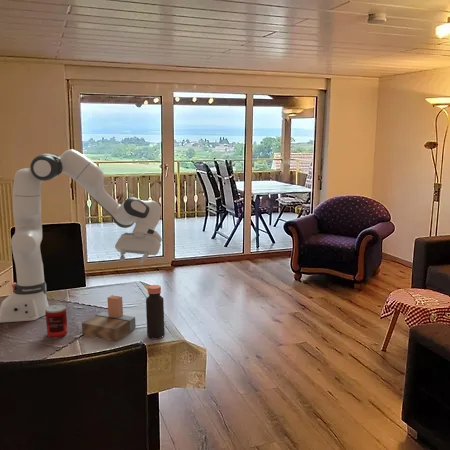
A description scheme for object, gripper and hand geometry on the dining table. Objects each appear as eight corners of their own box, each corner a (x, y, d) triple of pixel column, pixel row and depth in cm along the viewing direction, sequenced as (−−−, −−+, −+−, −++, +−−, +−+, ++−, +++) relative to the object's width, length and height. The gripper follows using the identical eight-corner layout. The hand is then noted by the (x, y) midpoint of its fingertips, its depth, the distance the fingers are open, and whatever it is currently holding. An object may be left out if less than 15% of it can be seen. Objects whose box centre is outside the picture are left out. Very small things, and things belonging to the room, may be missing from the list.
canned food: (60, 328, 196) (58, 302, 194) (71, 333, 191) (70, 307, 189) (43, 334, 190) (41, 308, 188) (54, 339, 185) (52, 312, 183)
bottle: (148, 340, 184) (146, 290, 181) (146, 333, 191) (144, 284, 187) (166, 337, 186) (164, 288, 182) (163, 331, 193) (161, 283, 189)
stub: (97, 325, 198) (95, 296, 195) (103, 322, 201) (101, 293, 199) (130, 331, 192) (128, 301, 189) (135, 328, 195) (134, 298, 193)
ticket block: (82, 334, 189) (81, 322, 188) (96, 326, 197) (96, 314, 196) (116, 341, 183) (115, 328, 182) (129, 332, 191) (129, 320, 190)
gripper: (119, 228, 212) (107, 255, 205) (159, 231, 204) (148, 259, 197) (125, 236, 216) (114, 262, 209) (165, 239, 209) (154, 267, 202)
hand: (131, 261), depth 203 cm, fingers open, 8 cm apart
